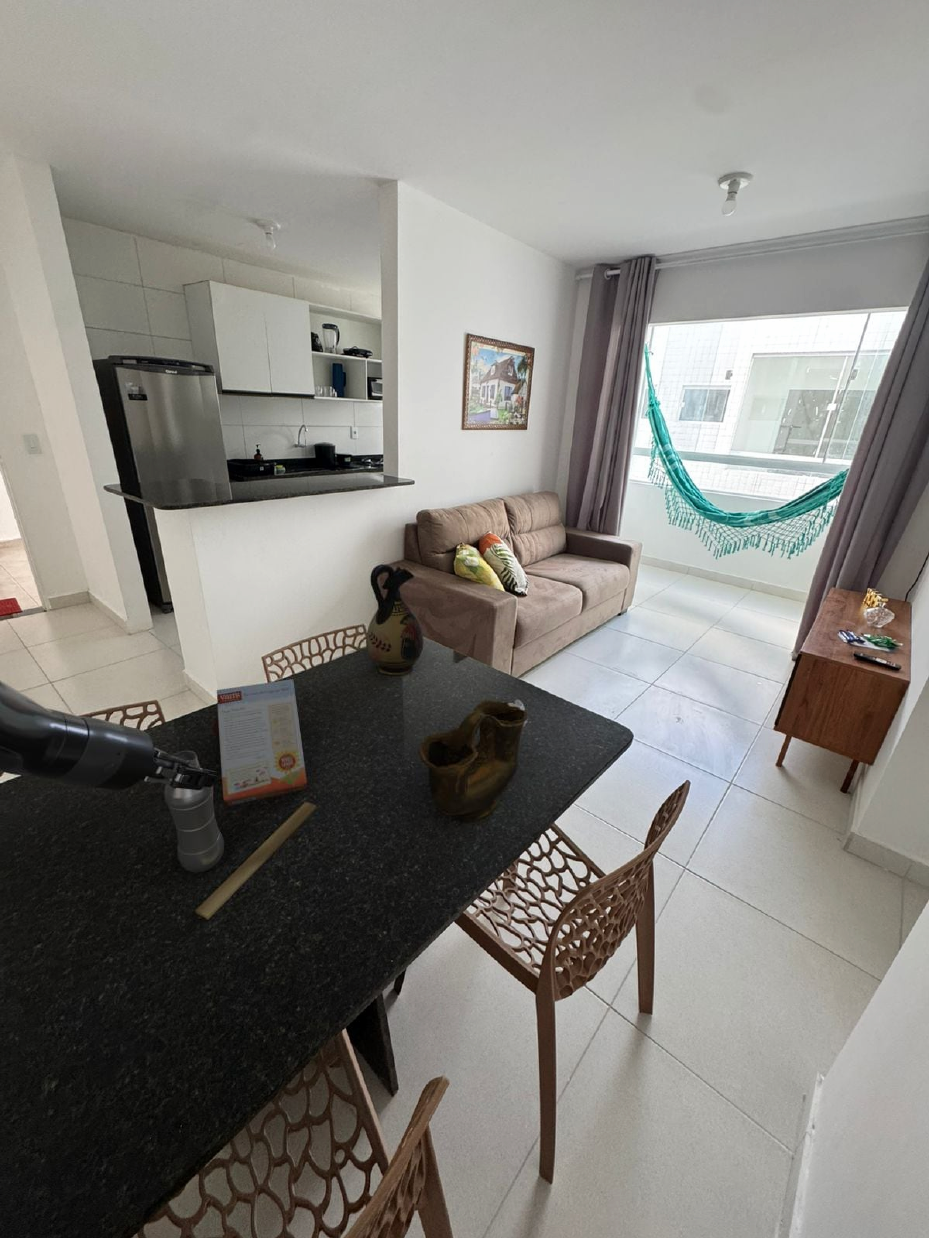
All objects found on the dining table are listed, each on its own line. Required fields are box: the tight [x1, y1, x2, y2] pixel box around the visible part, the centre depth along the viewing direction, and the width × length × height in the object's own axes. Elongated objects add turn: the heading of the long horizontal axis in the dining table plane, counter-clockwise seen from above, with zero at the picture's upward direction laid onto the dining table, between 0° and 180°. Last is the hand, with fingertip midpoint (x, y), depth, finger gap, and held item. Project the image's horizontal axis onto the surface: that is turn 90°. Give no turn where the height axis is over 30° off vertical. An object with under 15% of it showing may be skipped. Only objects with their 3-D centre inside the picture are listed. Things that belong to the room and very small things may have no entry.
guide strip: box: [195, 801, 317, 920], centre depth 83 cm, size 2×24×1 cm, turn 156°
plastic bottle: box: [163, 750, 225, 873], centre depth 77 cm, size 6×7×20 cm
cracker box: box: [216, 678, 308, 807], centre depth 97 cm, size 14×6×21 cm
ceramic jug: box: [365, 563, 424, 676], centre depth 135 cm, size 17×16×30 cm
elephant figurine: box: [507, 699, 528, 728], centre depth 119 cm, size 7×8×6 cm
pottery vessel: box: [417, 699, 529, 823], centre depth 93 cm, size 25×11×20 cm, turn 140°
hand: (197, 772), depth 75 cm, fingers closed on plastic bottle, 6 cm apart
